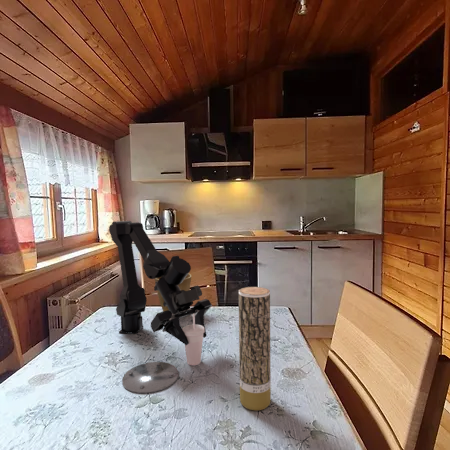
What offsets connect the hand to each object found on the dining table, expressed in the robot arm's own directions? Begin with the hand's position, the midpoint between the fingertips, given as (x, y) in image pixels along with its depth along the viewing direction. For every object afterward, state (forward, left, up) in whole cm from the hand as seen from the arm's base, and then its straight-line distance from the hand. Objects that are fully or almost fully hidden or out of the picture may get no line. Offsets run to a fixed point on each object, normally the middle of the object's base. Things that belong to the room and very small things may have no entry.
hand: (196, 340), depth 86 cm
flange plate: (-10, -8, -7) cm, 15 cm away
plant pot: (-19, +39, -7) cm, 44 cm away
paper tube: (+17, -15, -7) cm, 24 cm away
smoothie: (-1, +1, -7) cm, 7 cm away
